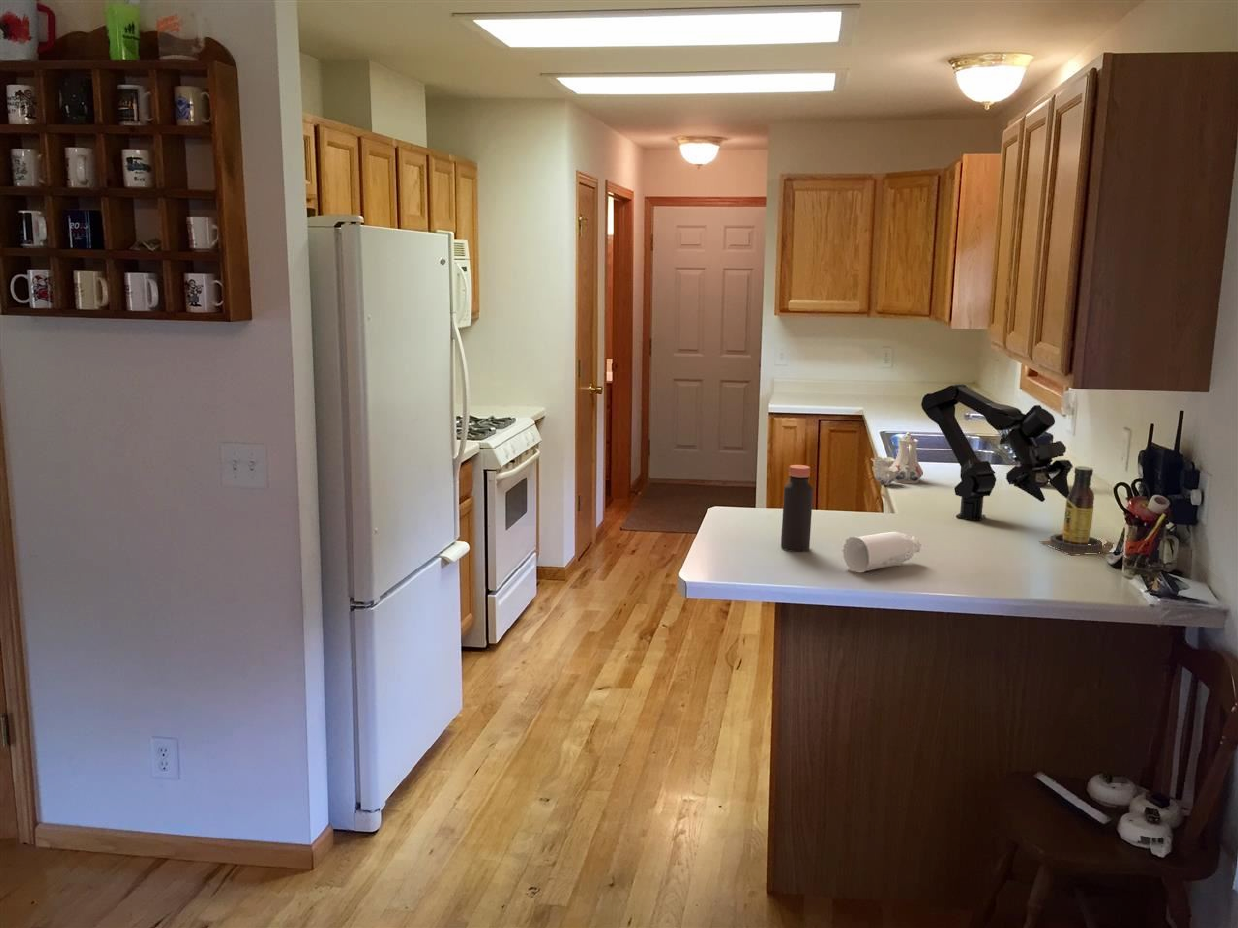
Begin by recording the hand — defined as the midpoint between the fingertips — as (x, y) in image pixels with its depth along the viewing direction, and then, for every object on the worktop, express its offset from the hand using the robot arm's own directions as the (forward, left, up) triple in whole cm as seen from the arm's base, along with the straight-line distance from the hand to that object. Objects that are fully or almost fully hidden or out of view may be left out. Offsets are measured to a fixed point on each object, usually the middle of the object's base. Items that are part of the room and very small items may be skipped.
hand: (1056, 499), depth 263 cm
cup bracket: (+1, +8, -11) cm, 14 cm away
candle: (-74, -21, -11) cm, 77 cm away
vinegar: (+48, -49, -11) cm, 70 cm away
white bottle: (+51, -27, -11) cm, 58 cm away
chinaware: (-51, -58, -11) cm, 78 cm away
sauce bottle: (+3, +6, -11) cm, 13 cm away
